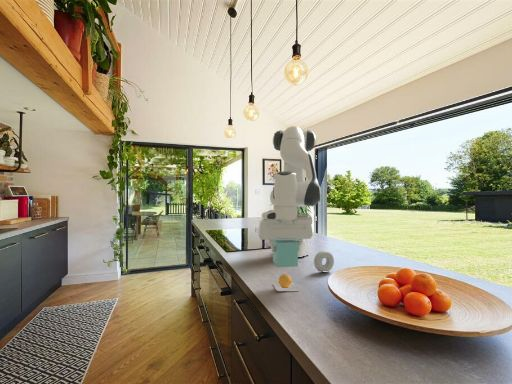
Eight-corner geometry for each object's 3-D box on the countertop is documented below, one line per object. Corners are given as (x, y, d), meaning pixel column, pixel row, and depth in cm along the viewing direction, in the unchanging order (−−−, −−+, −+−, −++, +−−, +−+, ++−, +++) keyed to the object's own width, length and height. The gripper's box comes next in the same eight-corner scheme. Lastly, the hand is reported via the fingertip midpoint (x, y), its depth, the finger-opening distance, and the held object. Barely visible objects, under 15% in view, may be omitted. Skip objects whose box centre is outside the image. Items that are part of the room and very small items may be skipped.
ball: (280, 280, 94) (279, 291, 95) (293, 279, 94) (292, 290, 96) (277, 271, 98) (276, 282, 100) (290, 271, 99) (289, 282, 101)
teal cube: (272, 260, 101) (273, 238, 101) (292, 260, 102) (292, 238, 101) (276, 267, 93) (277, 243, 93) (297, 266, 94) (298, 242, 94)
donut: (330, 270, 120) (330, 248, 120) (335, 272, 117) (335, 250, 117) (312, 272, 116) (312, 250, 116) (316, 274, 113) (316, 252, 113)
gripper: (309, 213, 101) (309, 248, 101) (257, 213, 99) (257, 249, 99) (315, 214, 95) (315, 252, 95) (260, 214, 93) (259, 253, 92)
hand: (285, 251), depth 97 cm, fingers closed on teal cube, 8 cm apart
